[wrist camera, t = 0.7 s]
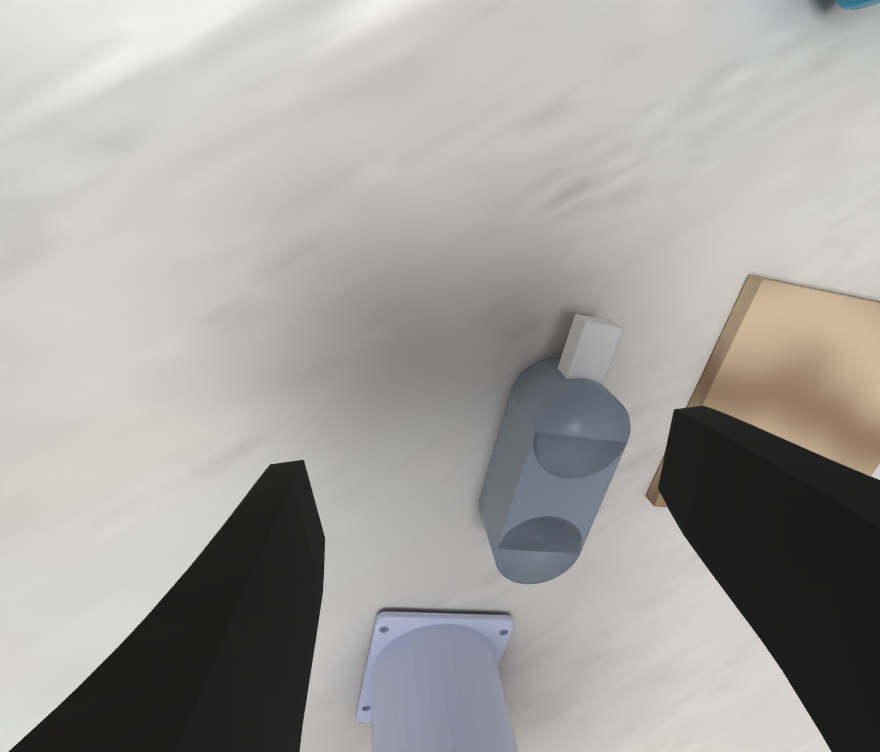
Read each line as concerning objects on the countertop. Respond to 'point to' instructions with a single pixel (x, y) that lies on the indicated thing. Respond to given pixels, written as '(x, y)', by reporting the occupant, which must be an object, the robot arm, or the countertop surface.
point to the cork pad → (799, 371)
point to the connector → (554, 456)
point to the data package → (856, 3)
